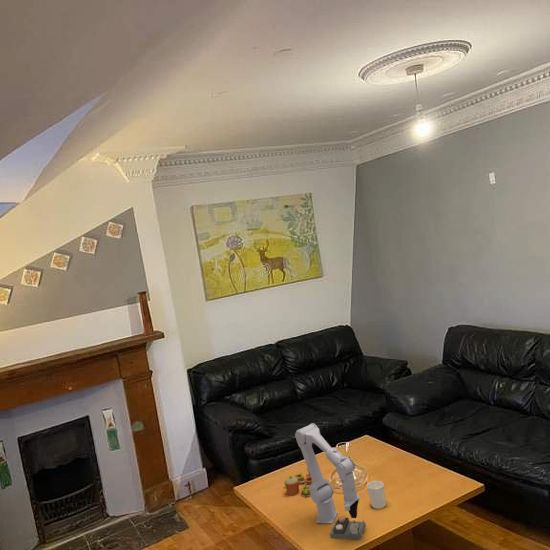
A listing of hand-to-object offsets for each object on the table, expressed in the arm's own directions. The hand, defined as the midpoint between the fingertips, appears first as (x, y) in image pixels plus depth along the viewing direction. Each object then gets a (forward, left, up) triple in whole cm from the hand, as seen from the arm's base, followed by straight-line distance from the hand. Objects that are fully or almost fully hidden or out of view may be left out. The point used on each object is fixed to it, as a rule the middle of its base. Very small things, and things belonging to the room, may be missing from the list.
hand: (354, 517), depth 229 cm
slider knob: (+2, 0, -5) cm, 6 cm away
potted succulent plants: (-41, -39, -8) cm, 57 cm away
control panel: (-1, -4, -7) cm, 8 cm away
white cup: (-23, +5, -8) cm, 25 cm away
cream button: (+2, -7, -5) cm, 9 cm away
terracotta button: (-3, -7, -4) cm, 9 cm away
